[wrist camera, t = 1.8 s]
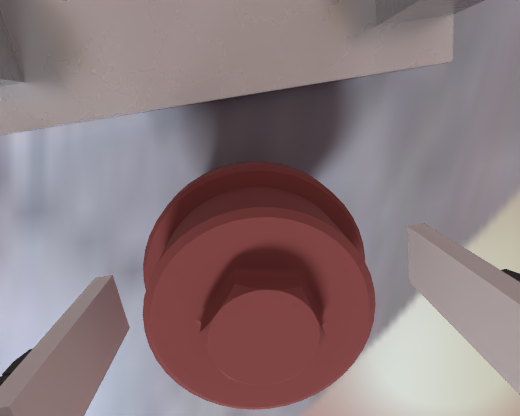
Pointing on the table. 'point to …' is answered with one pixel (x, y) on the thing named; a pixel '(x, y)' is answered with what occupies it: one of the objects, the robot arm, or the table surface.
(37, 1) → the shaft bed
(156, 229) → the mechanical component
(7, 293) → the table surface
